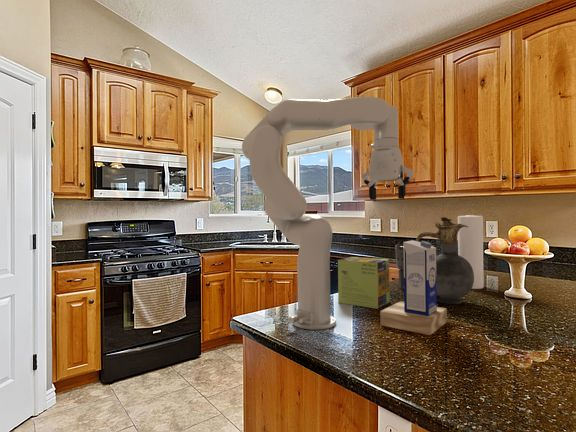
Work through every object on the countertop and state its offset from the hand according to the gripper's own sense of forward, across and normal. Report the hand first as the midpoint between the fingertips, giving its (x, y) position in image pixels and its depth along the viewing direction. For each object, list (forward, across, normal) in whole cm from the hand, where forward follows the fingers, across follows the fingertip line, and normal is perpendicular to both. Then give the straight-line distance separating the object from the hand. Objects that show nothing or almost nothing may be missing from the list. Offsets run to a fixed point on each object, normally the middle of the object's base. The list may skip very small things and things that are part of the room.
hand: (386, 199), depth 117 cm
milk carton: (+32, +13, -8) cm, 36 cm away
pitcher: (+36, +10, +24) cm, 45 cm away
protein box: (+37, -12, +6) cm, 39 cm away
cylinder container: (+36, +11, +56) cm, 68 cm away
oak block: (+36, +11, -7) cm, 39 cm away
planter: (+36, -8, +40) cm, 55 cm away
